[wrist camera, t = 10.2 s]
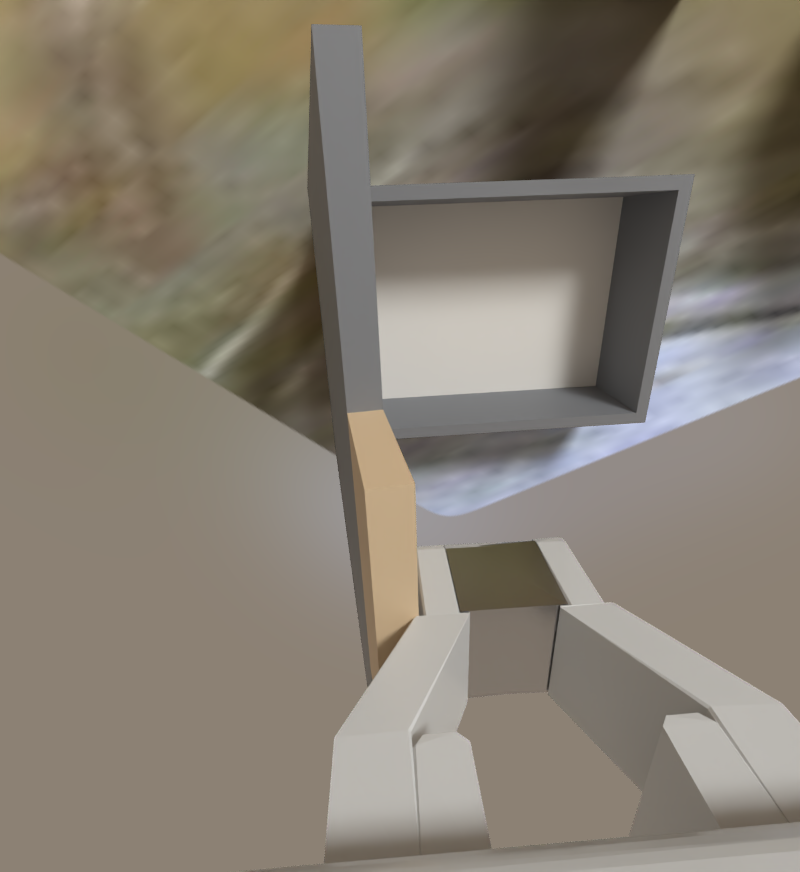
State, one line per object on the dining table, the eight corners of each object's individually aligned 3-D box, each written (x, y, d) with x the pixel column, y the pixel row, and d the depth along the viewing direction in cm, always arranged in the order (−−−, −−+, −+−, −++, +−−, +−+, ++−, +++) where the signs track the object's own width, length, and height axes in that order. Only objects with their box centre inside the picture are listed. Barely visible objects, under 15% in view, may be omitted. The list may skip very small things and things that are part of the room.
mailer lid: (343, 444, 32) (335, 445, 32) (318, 187, 26) (307, 187, 26) (427, 921, 10) (400, 929, 10) (398, -114, 3) (314, -122, 3)
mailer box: (348, 407, 39) (346, 442, 33) (330, 195, 32) (322, 187, 26) (600, 391, 40) (644, 422, 34) (631, 184, 33) (694, 174, 27)
